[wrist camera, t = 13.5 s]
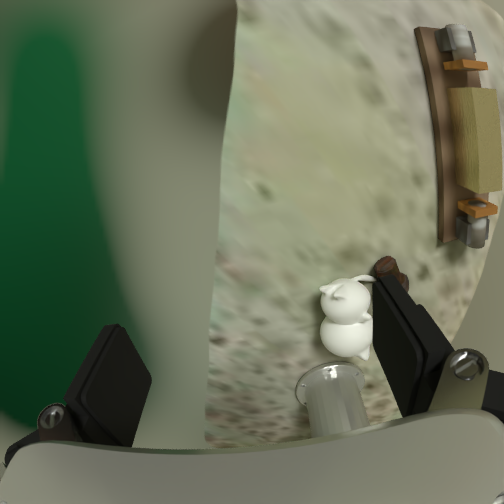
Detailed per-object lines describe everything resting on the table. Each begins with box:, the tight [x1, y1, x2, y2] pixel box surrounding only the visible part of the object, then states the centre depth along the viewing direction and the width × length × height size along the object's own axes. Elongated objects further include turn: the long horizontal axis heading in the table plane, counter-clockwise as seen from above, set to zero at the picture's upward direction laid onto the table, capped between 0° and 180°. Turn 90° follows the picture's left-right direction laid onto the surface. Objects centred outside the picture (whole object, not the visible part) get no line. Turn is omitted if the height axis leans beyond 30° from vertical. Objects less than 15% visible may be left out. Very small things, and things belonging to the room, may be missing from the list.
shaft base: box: [414, 24, 498, 248], centre depth 30 cm, size 30×9×6 cm, turn 12°
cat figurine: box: [319, 275, 377, 361], centre depth 41 cm, size 9×11×12 cm
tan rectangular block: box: [447, 87, 502, 194], centre depth 29 cm, size 4×13×6 cm, turn 12°
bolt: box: [374, 256, 409, 293], centre depth 41 cm, size 6×5×15 cm
